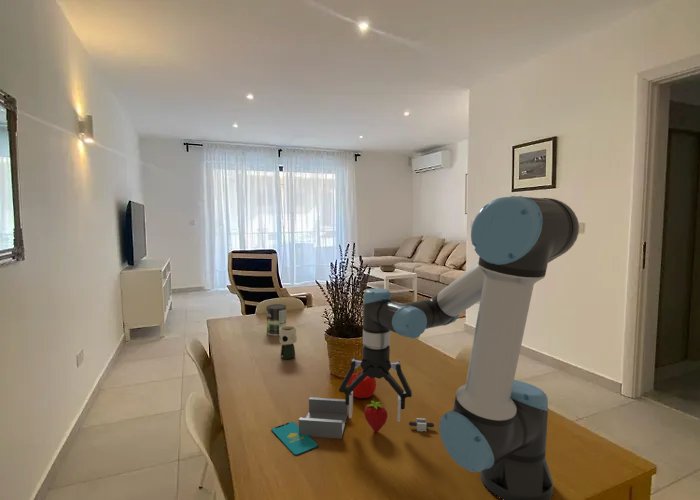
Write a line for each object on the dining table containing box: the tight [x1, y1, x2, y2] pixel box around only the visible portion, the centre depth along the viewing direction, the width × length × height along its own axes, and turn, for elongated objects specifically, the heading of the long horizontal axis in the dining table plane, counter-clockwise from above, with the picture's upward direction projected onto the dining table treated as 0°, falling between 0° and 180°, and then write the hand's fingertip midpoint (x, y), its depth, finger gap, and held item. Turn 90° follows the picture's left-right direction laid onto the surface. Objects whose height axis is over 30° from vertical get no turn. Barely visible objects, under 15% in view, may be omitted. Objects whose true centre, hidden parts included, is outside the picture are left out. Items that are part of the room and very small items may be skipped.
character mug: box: [278, 325, 298, 360], centre depth 166 cm, size 11×7×13 cm, turn 49°
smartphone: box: [271, 421, 319, 457], centre depth 106 cm, size 7×1×15 cm
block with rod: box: [408, 417, 435, 432], centre depth 111 cm, size 3×7×2 cm, turn 83°
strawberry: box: [363, 398, 388, 433], centre depth 108 cm, size 6×8×10 cm
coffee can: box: [266, 303, 287, 337], centre depth 201 cm, size 10×10×14 cm
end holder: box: [298, 396, 349, 440], centre depth 112 cm, size 13×12×5 cm
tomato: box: [347, 370, 377, 399], centre depth 131 cm, size 9×9×8 cm
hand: (374, 417), depth 109 cm, fingers open, 13 cm apart
